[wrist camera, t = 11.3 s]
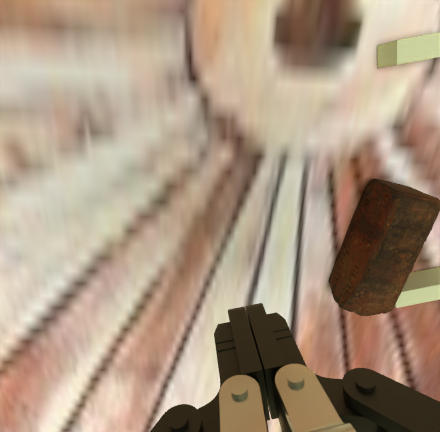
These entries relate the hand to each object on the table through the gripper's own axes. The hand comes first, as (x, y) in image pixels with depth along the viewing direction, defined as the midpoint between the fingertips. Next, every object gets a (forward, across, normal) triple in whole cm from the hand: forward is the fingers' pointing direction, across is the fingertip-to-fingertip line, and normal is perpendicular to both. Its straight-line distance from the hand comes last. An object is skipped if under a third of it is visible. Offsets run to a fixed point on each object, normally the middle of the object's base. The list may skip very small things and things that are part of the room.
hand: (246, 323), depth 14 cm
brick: (+14, -12, +5) cm, 19 cm away
